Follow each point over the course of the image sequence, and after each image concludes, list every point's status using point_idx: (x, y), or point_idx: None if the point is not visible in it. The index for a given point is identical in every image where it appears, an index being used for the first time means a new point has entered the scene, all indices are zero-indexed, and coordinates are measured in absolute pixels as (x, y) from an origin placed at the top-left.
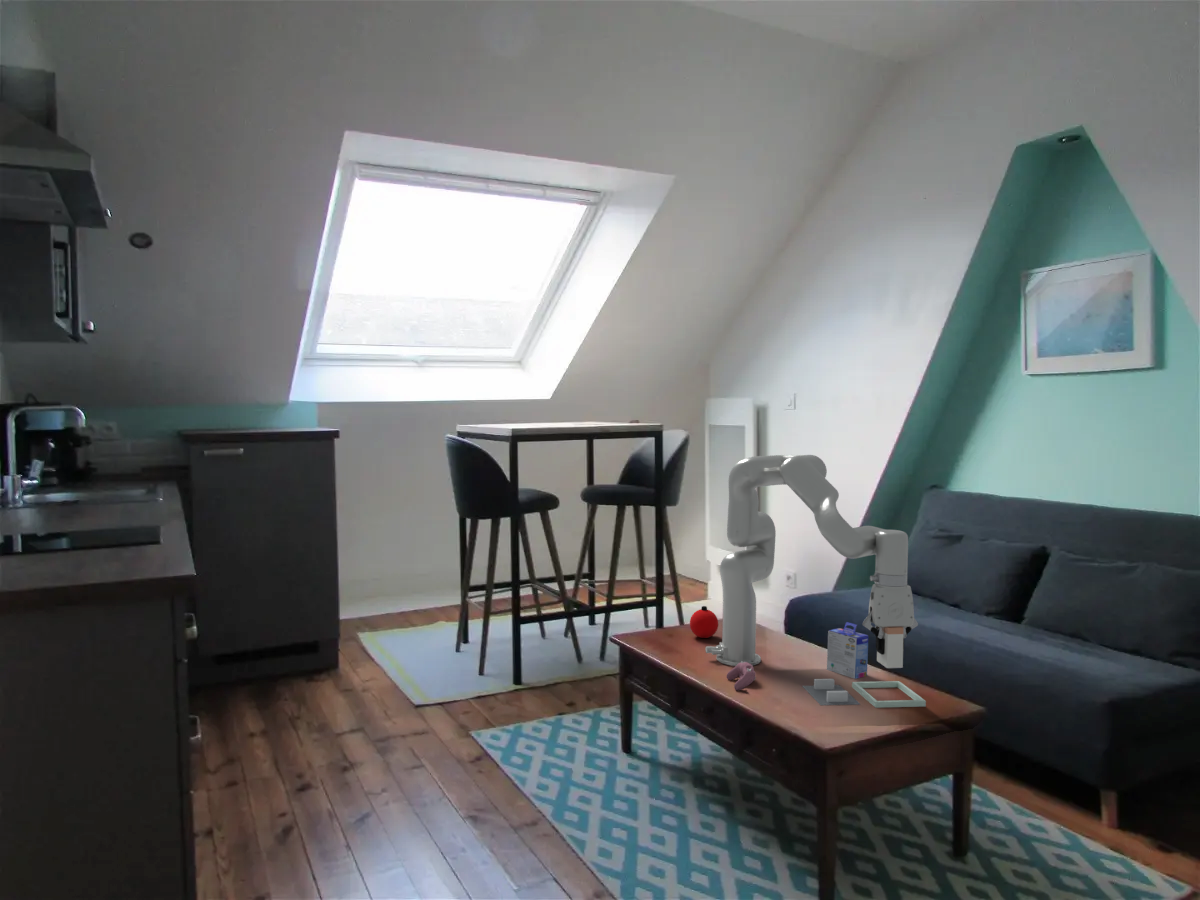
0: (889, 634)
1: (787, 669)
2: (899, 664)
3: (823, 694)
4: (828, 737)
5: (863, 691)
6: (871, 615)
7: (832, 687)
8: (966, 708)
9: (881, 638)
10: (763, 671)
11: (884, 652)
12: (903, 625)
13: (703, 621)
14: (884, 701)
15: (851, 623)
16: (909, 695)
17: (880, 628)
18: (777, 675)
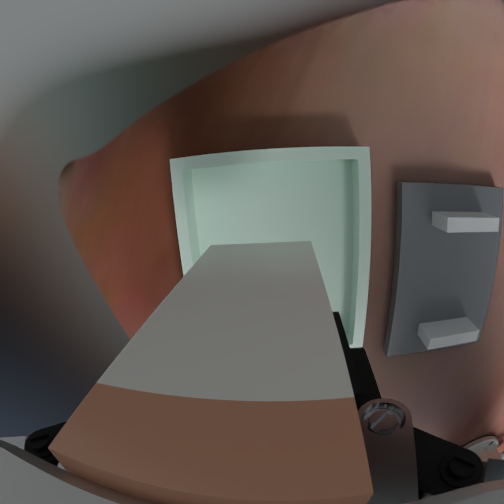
0: (322, 397)
1: None
2: (227, 249)
3: (467, 276)
4: (498, 25)
5: (368, 262)
6: None
7: (426, 325)
8: (71, 192)
9: (368, 402)
10: (466, 427)
11: None
12: (37, 476)
13: None
14: (333, 150)
15: None
16: (197, 257)
17: (410, 494)
18: (458, 415)
